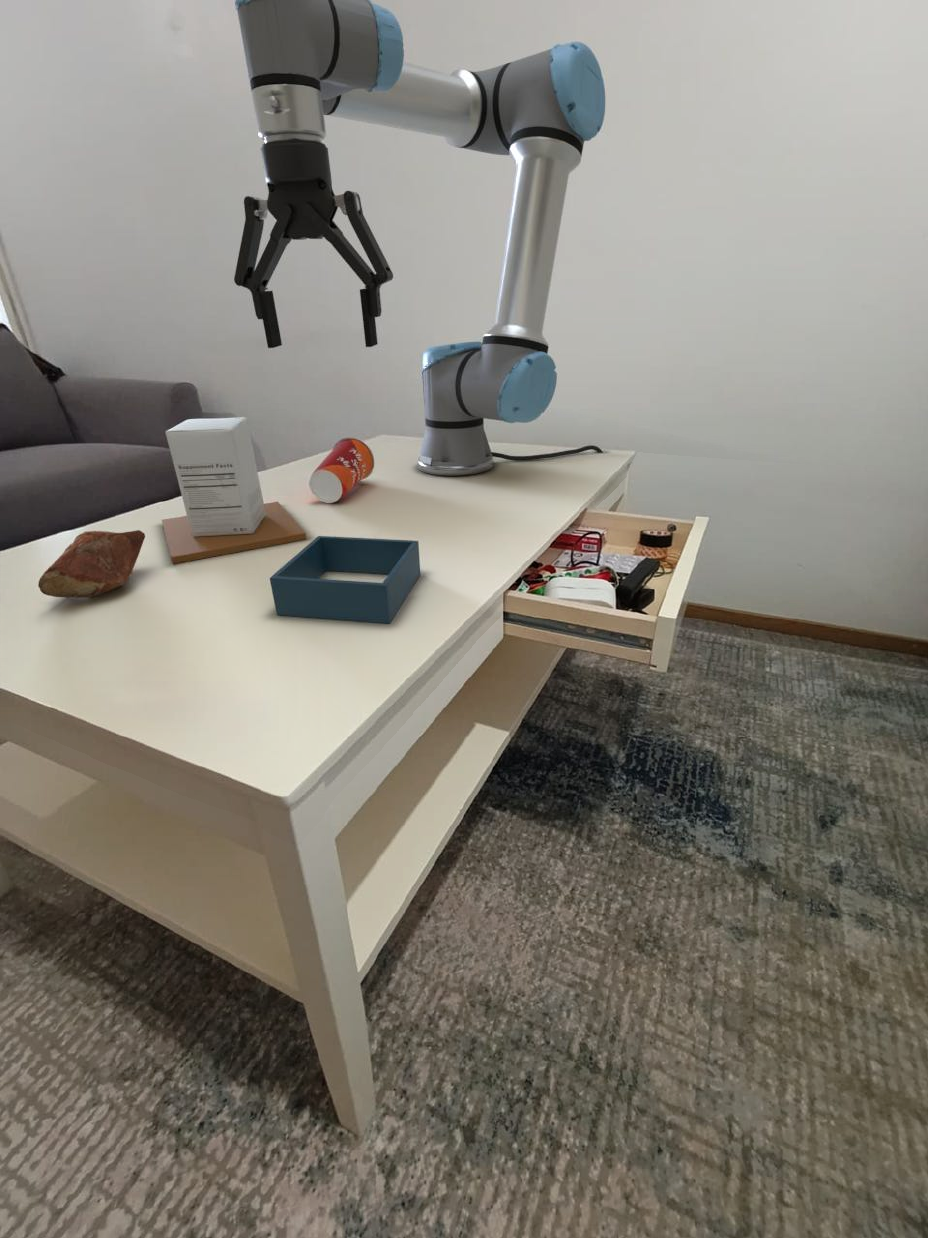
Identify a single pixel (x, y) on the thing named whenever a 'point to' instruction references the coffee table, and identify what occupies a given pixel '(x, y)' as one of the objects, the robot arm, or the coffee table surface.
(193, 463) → the white product box
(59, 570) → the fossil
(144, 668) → the coffee table surface
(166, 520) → the cork mat
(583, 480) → the coffee table surface
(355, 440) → the coffee cup
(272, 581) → the crate
